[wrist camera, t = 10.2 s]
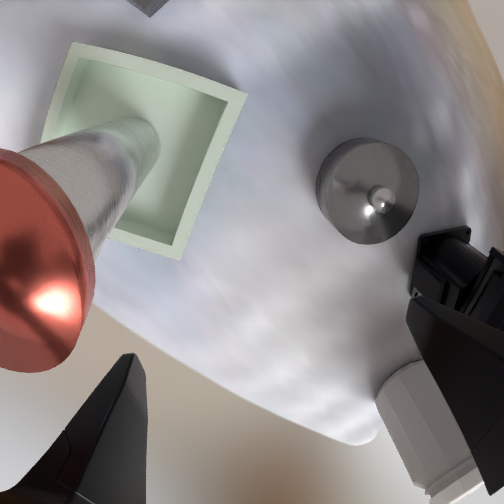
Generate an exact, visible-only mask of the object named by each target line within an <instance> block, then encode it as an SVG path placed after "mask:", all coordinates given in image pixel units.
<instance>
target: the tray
mask: <svg viewBox="0 0 504 504" xmlns="http://www.w3.org/2000/svg"><path fill="white" fill-rule="evenodd" d="M247 96H248V94H246V93H244V92H241V91H239V90H236V89H234V88H231V87H229V86H226V85H223V84H221V83H218V82H216V81H213V80H210V79H207V78H205V77H202V76H199V75H196V74H193V73H190V72H187V71H184V70H181V69H178V68H175V67H172V66H169V65H165V64H162V63H159V62H155V61H152V60H148V59H145V58H141V57H138V56H134V55H130V54H126V53H122V52H118V51H114V50H110V49H105V48H101V47H96V46H92V45H87V44H82V43H76V42H72V44H71V47H70V49H69V51H68V54H67V57H66V59H65V62H64V64H63V67H62V70H61V73H60V76H59V78H58V81H57V84H56V87H55V91H54V94H53V97H52V100H51V103H50V107H49V110H48V114H47V118H46V121H45V125H44V129H43V133H42V137H41V141H40V144H41V143H44V142H47V141H50V140H53V139H56V138H58V137H61V136H64V135H67V134H71V133H74V132H77V131H80V130H83V129H87V128H90V127H93V126H97V125H100V124H104V123H107V122H111V121H115V120H119V119H123V118H127V117H136V118H141V119H143V120H145V121H147V122H149V123H150V124H151V125H152V126H153V127H154V128H155V130H156V131H157V133H158V135H159V138H160V143H161V150H160V155H159V158H158V161H157V162H156V164H155V166H154V167H153V169H152V170H151V171H150V173H149V174H148V176H147V177H146V179H145V180H144V182H143V183H142V185H141V186H140V188H139V189H138V191H137V192H136V194H135V195H134V197H133V198H132V200H131V201H130V203H129V204H128V206H127V207H126V209H125V211H124V212H123V214H122V215H121V217H120V219H119V220H118V222H117V223H116V225H115V227H114V228H113V230H112V232H111V233H110V235H109V237H108V238H109V239H112V240H115V241H118V242H121V243H125V244H128V245H131V246H134V247H137V248H140V249H143V250H146V251H150V252H153V253H156V254H159V255H162V256H166V257H169V258H172V259H175V260H178V261H181V258H182V255H183V252H184V249H185V247H186V244H187V241H188V239H189V236H190V233H191V231H192V228H193V225H194V223H195V220H196V217H197V215H198V212H199V210H200V207H201V204H202V202H203V199H204V197H205V194H206V192H207V189H208V187H209V184H210V182H211V179H212V177H213V174H214V172H215V169H216V167H217V165H218V162H219V160H220V157H221V155H222V153H223V150H224V148H225V146H226V143H227V141H228V139H229V136H230V134H231V132H232V129H233V127H234V125H235V122H236V120H237V118H238V116H239V113H240V111H241V109H242V107H243V105H244V102H245V100H246V98H247Z"/></svg>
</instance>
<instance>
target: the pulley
mask: <svg viewBox="0 0 504 504" xmlns="http://www.w3.org/2000/svg"><path fill="white" fill-rule="evenodd" d="M418 193H419V182H418V176H417V172H416V169H415V167H414V165H413V163H412V161H411V160H410V159H409V157H408V156H407V155H406V154H405V153H404V152H402V151H401V150H400V149H398V148H396V147H394V146H391V145H388V144H385V143H382V142H379V141H376V140H373V139H368V138H357V139H352V140H349V141H347V142H344V143H342V144H341V145H339V146H338V147H336V148H335V149H334V150H333V151H332V152H331V153H330V154H329V155H328V157H327V158H326V159H325V161H324V162H323V164H322V166H321V169H320V171H319V174H318V178H317V184H316V194H317V200H318V204H319V207H320V209H321V211H322V213H323V214H324V216H325V217H326V218H327V219H328V220H329V221H330V223H331V224H332V225H333V226H334V227H335V228H336V229H337V230H338V231H339V232H340V233H341V234H342V235H343V236H344V237H346V238H347V239H349V240H351V241H352V242H355V243H358V244H365V245H370V244H377V243H381V242H383V241H386V240H388V239H390V238H391V237H393V236H394V235H396V234H397V233H398V232H399V231H400V230H401V229H402V228H403V227H404V226H405V225H406V224H407V222H408V221H409V219H410V218H411V216H412V214H413V212H414V210H415V207H416V204H417V200H418Z"/></svg>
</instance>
